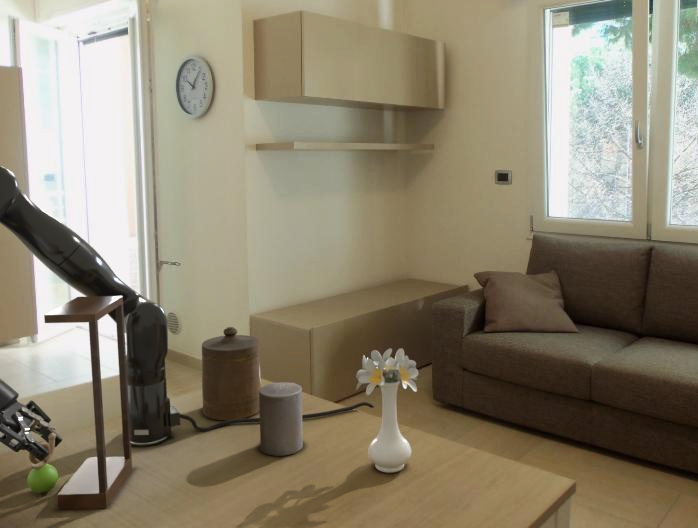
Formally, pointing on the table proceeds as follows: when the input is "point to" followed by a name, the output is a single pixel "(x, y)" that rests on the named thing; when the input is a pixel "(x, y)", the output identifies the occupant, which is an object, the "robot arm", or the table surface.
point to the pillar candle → (280, 418)
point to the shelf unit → (97, 409)
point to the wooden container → (230, 376)
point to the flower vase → (388, 406)
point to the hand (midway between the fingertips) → (52, 450)
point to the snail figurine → (43, 469)
